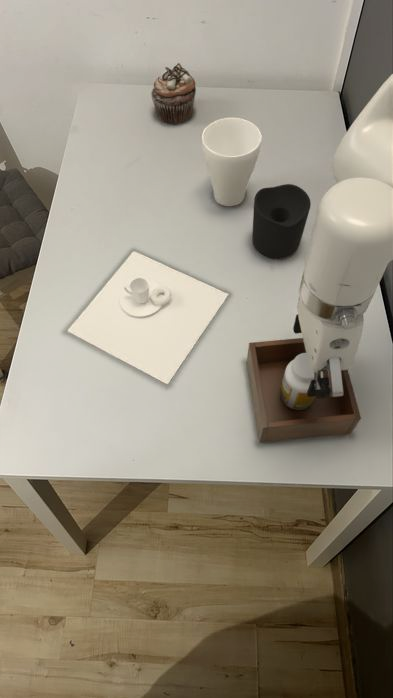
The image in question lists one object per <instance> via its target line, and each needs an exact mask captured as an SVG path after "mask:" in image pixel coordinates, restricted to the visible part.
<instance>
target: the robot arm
mask: <svg viewBox="0 0 393 698" xmlns="http://www.w3.org/2000/svg"><path fill="white" fill-rule="evenodd" d="M332 159H333V160H332V166H331V167H332V175H333V178H334V180H335V181H336V183H335V184H334V185H332V186H331V187H330V188H329V189H328V190H327V191H326V192H325V193H324V195H323V196H322V198H321V200H320V201H319V204H318V207H317V211H316V214H315V220H314V224H313V228H312V233H311V235H310V236H311V237H310V241H309V244H308V245H309V246H308V250H307V255H306V259H305V263H304V266H303V271H302V276H301V281H300V284H299V290H298V301H297V307H296V308H297V313H296V314H295V318H294V323H293V327H292V330H293V333H295V334H301V336H302V338H303V341H304V345H305V350H306V354H307V358H308V362H309V366H310V368H311V370H312V371H314V379H313V380H311V383H310V385H309V388H308V391H307V395H308V397H314V396H316V398H317V399H321V398H326V397H328V396H330V397H338V396H343V384H342V375H341V371H342V370H347V369H348V370H349V369H350V367H351V366H352V364H353V361H354V359H355V357H356V354H357V352H358V349H359V346H360V343H361V338H362V334H363V329H364V322H365V321H364V320H365V319H364V318H365V317H364V314H365V313H366V312H367V310H368V308H369V306H370V304H371V302H372V299H373V297H374V295H375V293H376V291H377V289H378V287H379V284H380V282H381V280H382V278H383V275H384V274H385V271H386V269H387V267H388V265H389V264H390V262H392V261H393V73H391V75H390V76H389V77H388V78H387V79H386V80H385V81H384V82H383V83H382V85H381V86H380V87H379V88H378V90H377V91H376V92H375V94H374V95H373V96H372V97H371V99H370V100H369V101H368V102H367V104H366V105H365V106H364V108H363V109H362V110H361V112H360V113H359V114H358V116H357V117H356V118H355V120H354V121H353V122H352V124H351V125H350V126H349V128H348V129H347V131H346V133H345V134H344V135H343V137H342V139H341V141H340V142H339V144H338V146H337V148H336V151H335V153H334V156H333V158H332ZM321 371H328V377H325V378H321Z"/></svg>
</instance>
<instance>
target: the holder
mask: <svg viewBox="0 0 393 698" xmlns="http://www.w3.org/2000/svg"><path fill="white" fill-rule="evenodd" d="M302 353H306V350H305V345H304V341H303V337H296V338H287V339H276V340H275V339H274V340H265V341H255V342H253V341H252V342H248V349H247V354H246V367H247V372H248V379H249V385H250V392H251V398H252V405H253V410H254V418H255V424H256V429H257V435H258V442H259V443H261V444H262V443H269V442H271V443H272V442H279V441H291V440H301V439H312V438H322V437H333V436H343V435H351V434H352V433H353V431H354V429H355V428H356V427H357V426H358V424H359V423H360V422H361V420H362V417H361V412H360V409H359V405H358V401H357V398H356V393H355V390H354V387H353V382H352V379H351V375H350V371H349V369H347V370H342V371H341V375H342V384H343V396H338V397H330V396H328V397H326V398H321V399H317V398H316V397H315V400H314V402H313V403H312V404H311V405H310V406H309V407H308V408H306V409H302V410H295V409H292V408H289V407H288V406H286V405H285V404H284V403H283V401H282V399H281V397H280V387H281V384H282V380H283V377H284V373H285V370H286V367H287V365H288V364H289V363H290V362H291V361H292V360H294V359H295V357H296V356H298V355H299V354H302ZM322 372H323V378H325V377H328V371H322Z"/></svg>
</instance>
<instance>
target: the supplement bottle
mask: <svg viewBox="0 0 393 698" xmlns="http://www.w3.org/2000/svg"><path fill="white" fill-rule="evenodd" d="M321 378H323V372H322V371H321ZM313 379H314V371H312V370H311V368H310V366H309V362H308V358H307V354H306V353H302V354H299V355H298V356H296V357H295V359H294V360H292V361H291V362H290V363H289V364H288V365H287V367H286V370H285V373H284V377H283V380H282V384H281V387H280V397H281V399H282V401H283V403H284V404H285V405H286V406H288V407H289V408H292V409H295V410H302V409H306V408H308V407H309V406H310V405H311V404H312V403H313V402H314V400H315V397H316V396H314V397H308V395H307V391H308V388H309V385H310V383H311V380H313Z"/></svg>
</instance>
